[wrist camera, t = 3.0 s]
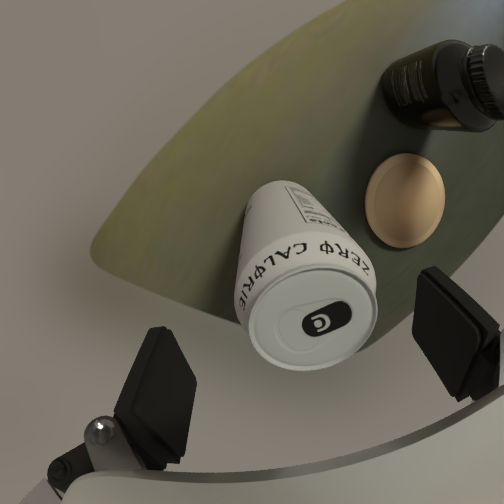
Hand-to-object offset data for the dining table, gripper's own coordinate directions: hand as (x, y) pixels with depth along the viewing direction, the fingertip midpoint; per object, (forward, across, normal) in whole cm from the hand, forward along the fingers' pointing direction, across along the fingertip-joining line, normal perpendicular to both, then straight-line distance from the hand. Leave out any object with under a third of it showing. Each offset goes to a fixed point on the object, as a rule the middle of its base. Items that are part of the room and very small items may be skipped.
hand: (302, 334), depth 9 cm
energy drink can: (+15, -1, 0) cm, 15 cm away
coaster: (+15, -13, +1) cm, 20 cm away
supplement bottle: (+15, -15, -9) cm, 23 cm away
